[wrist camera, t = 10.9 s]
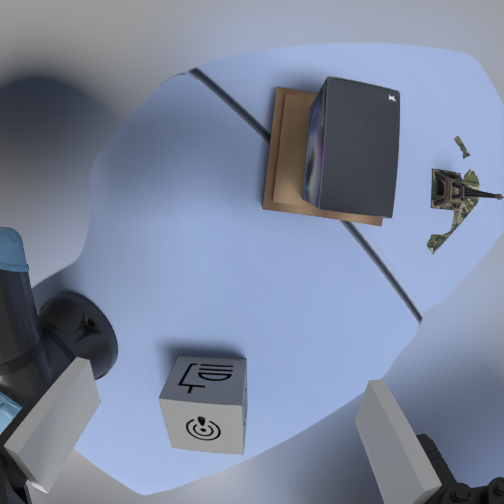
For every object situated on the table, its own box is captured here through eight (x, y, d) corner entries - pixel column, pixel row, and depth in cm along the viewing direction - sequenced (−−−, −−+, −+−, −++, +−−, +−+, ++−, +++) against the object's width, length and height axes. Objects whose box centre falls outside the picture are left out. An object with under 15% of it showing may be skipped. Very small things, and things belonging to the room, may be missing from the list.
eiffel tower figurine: (430, 255, 36) (487, 286, 23) (391, 200, 35) (448, 211, 22) (486, 188, 33) (547, 197, 20) (454, 133, 32) (515, 123, 19)
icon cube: (178, 355, 41) (158, 398, 31) (246, 358, 40) (241, 405, 31) (186, 403, 43) (172, 447, 33) (247, 408, 43) (243, 454, 33)
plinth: (262, 206, 35) (262, 210, 31) (275, 94, 32) (277, 84, 28) (372, 222, 35) (384, 227, 31) (384, 115, 32) (397, 109, 28)
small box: (305, 104, 28) (324, 71, 18) (363, 114, 28) (403, 88, 18) (298, 200, 31) (315, 210, 21) (356, 207, 31) (396, 220, 21)
